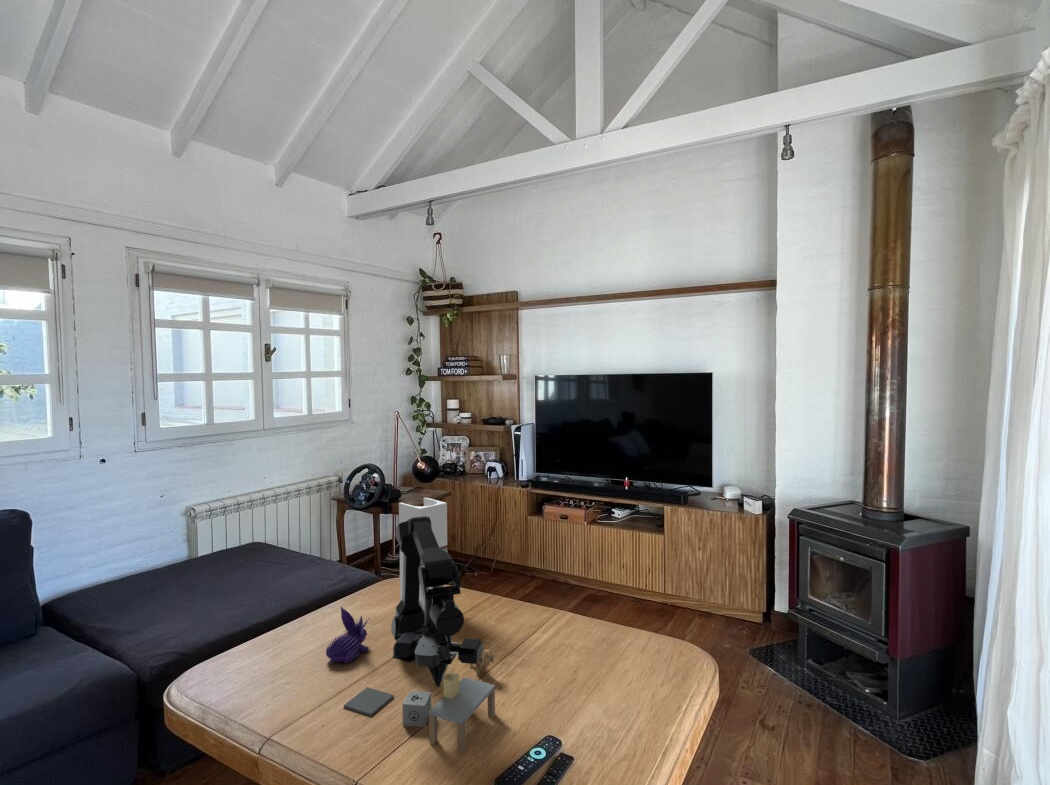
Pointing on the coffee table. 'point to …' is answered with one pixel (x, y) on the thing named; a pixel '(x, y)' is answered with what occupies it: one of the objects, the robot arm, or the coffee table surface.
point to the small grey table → (460, 705)
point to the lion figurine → (483, 662)
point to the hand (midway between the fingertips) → (438, 686)
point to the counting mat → (368, 701)
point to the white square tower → (439, 527)
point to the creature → (348, 640)
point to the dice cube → (416, 709)
